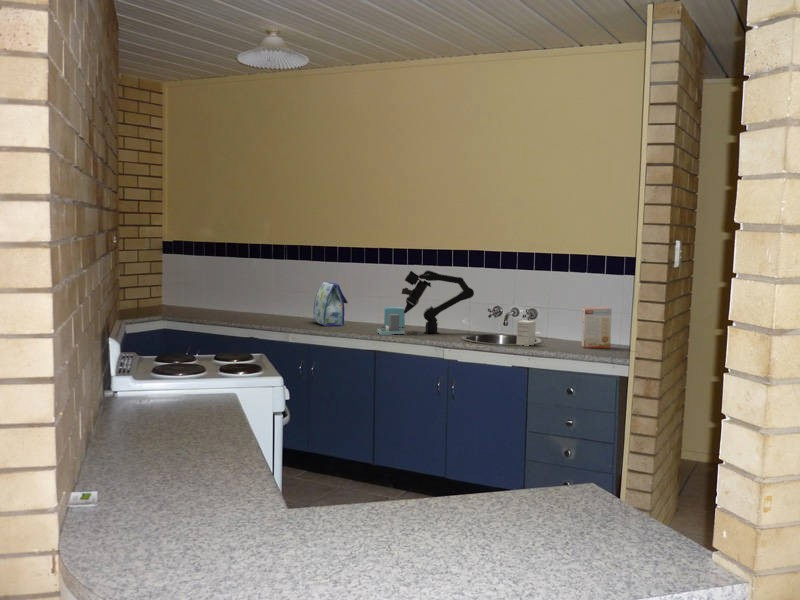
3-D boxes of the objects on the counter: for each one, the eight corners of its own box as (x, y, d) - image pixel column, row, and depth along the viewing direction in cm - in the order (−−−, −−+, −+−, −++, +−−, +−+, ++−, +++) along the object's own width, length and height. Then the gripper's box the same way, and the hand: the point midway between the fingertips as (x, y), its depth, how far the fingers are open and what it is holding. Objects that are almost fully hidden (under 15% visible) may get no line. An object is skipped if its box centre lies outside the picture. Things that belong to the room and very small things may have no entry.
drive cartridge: (396, 331, 456) (397, 314, 455) (399, 332, 451) (399, 315, 450) (388, 331, 454) (388, 314, 454) (390, 332, 450) (390, 315, 449)
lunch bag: (348, 325, 487) (349, 283, 484) (323, 326, 479) (323, 283, 477) (335, 321, 506) (336, 280, 504) (311, 322, 499) (311, 281, 497)
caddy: (400, 332, 459) (400, 324, 459) (405, 334, 449) (405, 327, 448) (376, 332, 456) (376, 325, 456) (381, 335, 445) (381, 327, 445)
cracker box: (607, 346, 417) (608, 307, 415) (610, 348, 411) (612, 308, 409) (580, 346, 416) (582, 306, 414) (583, 348, 410) (585, 308, 408)
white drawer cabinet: (523, 343, 424) (523, 319, 423) (535, 344, 419) (536, 321, 418) (515, 344, 418) (516, 320, 417) (528, 346, 414) (528, 322, 412)
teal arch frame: (403, 326, 486) (404, 307, 485) (404, 327, 482) (404, 308, 481) (384, 326, 485) (384, 307, 484) (384, 327, 481) (385, 308, 480)
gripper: (408, 282, 466) (394, 304, 467) (406, 282, 447) (391, 305, 449) (424, 292, 465) (410, 314, 467) (422, 293, 447) (408, 316, 448)
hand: (405, 312), depth 458 cm, fingers open, 9 cm apart
